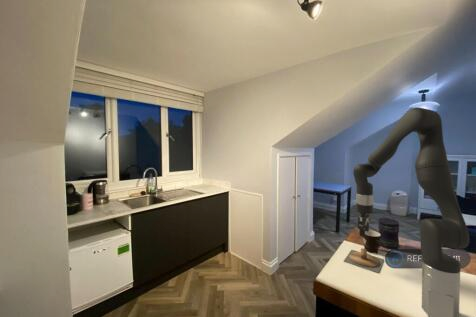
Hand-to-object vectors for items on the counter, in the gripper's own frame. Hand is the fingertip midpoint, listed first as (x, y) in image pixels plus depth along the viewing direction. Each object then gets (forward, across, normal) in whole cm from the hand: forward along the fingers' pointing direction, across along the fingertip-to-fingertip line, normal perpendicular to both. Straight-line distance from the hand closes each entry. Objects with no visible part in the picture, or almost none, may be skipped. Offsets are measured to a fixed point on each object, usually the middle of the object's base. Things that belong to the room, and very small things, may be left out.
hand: (364, 233), depth 102 cm
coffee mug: (+14, +13, -1) cm, 19 cm away
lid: (+14, 0, 0) cm, 14 cm away
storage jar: (+15, +27, -7) cm, 31 cm away
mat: (+14, 0, 0) cm, 14 cm away
